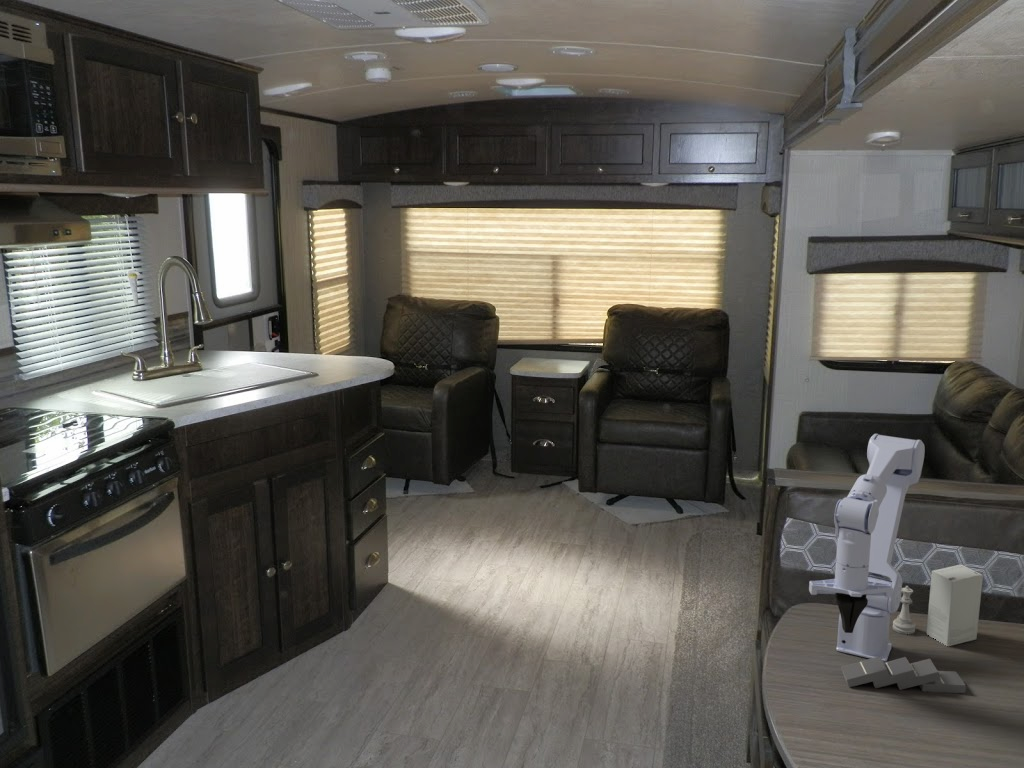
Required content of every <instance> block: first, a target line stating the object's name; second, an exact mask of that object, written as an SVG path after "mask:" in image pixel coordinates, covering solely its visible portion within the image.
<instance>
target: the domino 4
mask: <svg viewBox="0 0 1024 768" xmlns="http://www.w3.org/2000/svg"><path fill="white" fill-rule="evenodd" d="M937 671H938V672H939V675H940V678H941V680H937V681H933V682H929V683H925V684H922V685H918V687H919V688H920V690H921V689H922V690H921V691H922V692H926V691H930V693H945V692H946V693H947V694H948V693H949V694H952V693H953V694H966V690H967V689H966V688H967V685H966V684H965V681H963V679H962V678H961V677H960V675H959V674H958V673H957V671H951V670H947V671H946V670H937ZM931 691H932V692H931Z"/></svg>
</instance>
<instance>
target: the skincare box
mask: <svg viewBox="0 0 1024 768" xmlns="http://www.w3.org/2000/svg"><path fill="white" fill-rule="evenodd" d="M983 579H984V575H983V574H981V573H980V572H978V571H976V570H974V569H972V568H969V567H968V566H965V565H963V564H957V565H952V566H947V567H943V568H939V569H934V570H931V577H930V589H929V599H928V601H929V602H928V611H927V621H926V633H925V634H926V635H927V636H928V635H929V637H930V638H931V639H933V638H934V640H935V639H936V640H935V641H937V642H938V641H939V643H940V642H941V643H940V644H942V643H943V644H944V646H945V645H946V646H945V647H947V646H948V647H951V646H952V647H953V646H955V645H959V644H963V643H967V642H971V641H974V640H977V636H978V628H979V617H980V606H981V599H982V598H981V597H982V590H983V589H982V588H983ZM943 644H942V645H943Z"/></svg>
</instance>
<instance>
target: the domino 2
mask: <svg viewBox="0 0 1024 768" xmlns="http://www.w3.org/2000/svg"><path fill="white" fill-rule="evenodd" d="M883 663H884V665H885V667H886V669H887V671H888V674H889V677H888V678H884V679H880V680H876V681H872V682H871V683H872V684H873V686H874V688H875V689H879V688H882V687H887V686H890V685H895V684H896V683H898V682H902V681H906V680H909V679H913V678H916V676H915V673H914V670H913V668H912V667H911V665H910V664H911V663H910V662H909V660H908V659H907V657H906V656H904V657H900V658H896V659H893V660H889V661H888V660H887V661H886V662H883Z"/></svg>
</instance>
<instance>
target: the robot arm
mask: <svg viewBox="0 0 1024 768" xmlns="http://www.w3.org/2000/svg"><path fill="white" fill-rule="evenodd" d="M867 444H868V445H867V449H866V451H867V452H866V456H867V458H866V459H867V460H868V465H869V466H868V469H867V472H866V473H865V474H862V475H859V477H857V479H856V481H855V482H854V484H853V486H852V488H851V489H850V491H849V492H848V494H847V496H845V497H843V498H842V499H841V498H840V499H839V500H837V502H836V506H835V509H834V517H833V521H834V527H835V533H834V534H835V537H836V538H837V542H836V543H837V544H836V554H835V555H836V557H835V570H834V571H835V572H834V578H829V579H822V580H809V583H808V584H809V585H808V591H809V593H810V595H811V596H816V595H818V594H822V595H823V594H825V595H828V594H829V595H833V597H834V600H835V601H836V604H837V607H838V609H839V615H838V617H839V618H838V627H837V628H838V630H837V639H836V640H837V643H836V647H835V648H836V649H835V650H836V651H837V652H840V653H845V654H850V655H854V656H857V657H861V658H866V659H871V658H875V657H879V656H880V657H881V659H882V661H883V663H885V662H888V658H889V655H890V652H891V650H892V647H893V643H891V642H889V637H890V636H889V634H890V625H891V623H890V622H891V614H894V613H896V612H897V611H898V609H899V607H900V605H901V602H900V601H901V598H902V594H903V593H902V589H901V588H903V587H902V586H903V582H904V581H903V578H902V575H901V574H900V572H899V571H898V570H897V569H896V568H895V567H894V566H893V565H892V560H893V554H894V551H895V546H896V541H897V536H898V532H899V526H900V522H901V518H902V512H903V507H904V503H905V498H906V494H907V492H908V490H909V487H910V486H911V485H914V484H918V483H919V480H920V478H921V476H922V470H923V465H924V459H925V448H926V447H925V444H924V442H923V441H922V440H921V439H911V438H903V437H896V436H889V435H883V434H879V433H874V434H872V436H871V437H870V438H869V440H868V443H867Z"/></svg>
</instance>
